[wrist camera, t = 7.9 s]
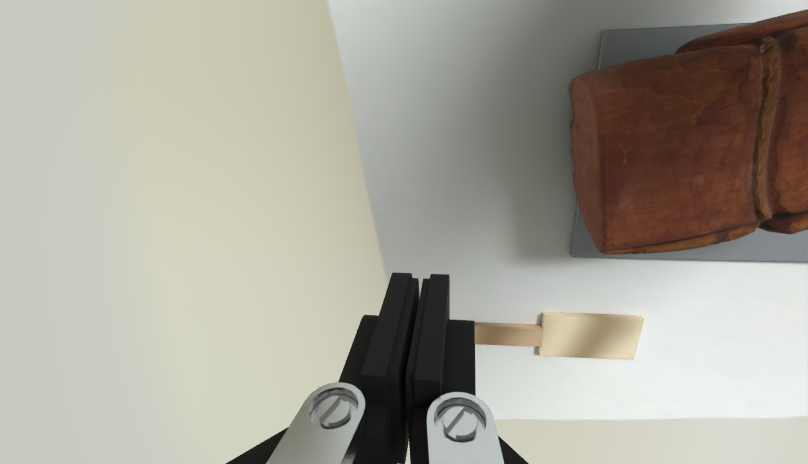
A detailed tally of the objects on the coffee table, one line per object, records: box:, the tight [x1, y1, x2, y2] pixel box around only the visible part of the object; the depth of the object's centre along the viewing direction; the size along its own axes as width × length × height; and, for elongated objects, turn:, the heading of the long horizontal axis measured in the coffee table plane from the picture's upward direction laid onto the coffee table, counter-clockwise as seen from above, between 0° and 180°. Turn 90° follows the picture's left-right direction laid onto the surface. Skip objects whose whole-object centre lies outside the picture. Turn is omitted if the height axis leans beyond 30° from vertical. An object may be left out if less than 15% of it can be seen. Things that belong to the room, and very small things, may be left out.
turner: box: [475, 312, 644, 360], centre depth 36 cm, size 18×4×1 cm, turn 93°
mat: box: [570, 23, 808, 262], centre depth 27 cm, size 16×19×1 cm
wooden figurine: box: [569, 10, 808, 255], centre depth 24 cm, size 12×6×18 cm
